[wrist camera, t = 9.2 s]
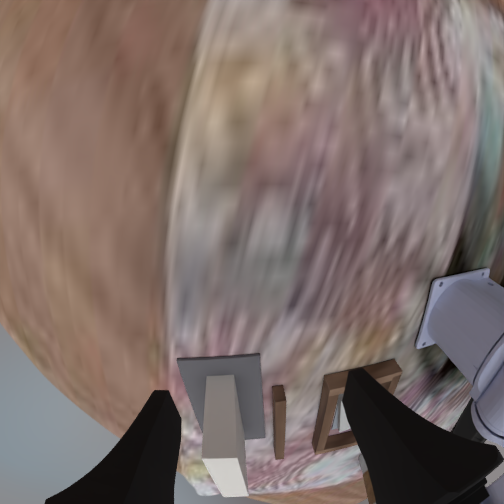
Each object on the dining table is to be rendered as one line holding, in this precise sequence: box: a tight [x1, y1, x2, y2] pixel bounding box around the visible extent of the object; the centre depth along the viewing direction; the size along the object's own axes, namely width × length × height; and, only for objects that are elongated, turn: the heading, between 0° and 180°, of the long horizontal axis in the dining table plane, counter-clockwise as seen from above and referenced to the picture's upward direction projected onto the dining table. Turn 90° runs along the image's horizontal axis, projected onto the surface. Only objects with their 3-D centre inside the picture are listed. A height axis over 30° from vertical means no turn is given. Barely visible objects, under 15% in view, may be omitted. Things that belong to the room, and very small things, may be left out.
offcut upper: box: [337, 393, 351, 432], centre depth 25 cm, size 3×7×1 cm, turn 12°
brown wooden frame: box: [272, 359, 402, 460], centre depth 25 cm, size 13×14×2 cm
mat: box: [177, 354, 265, 440], centre depth 24 cm, size 7×14×1 cm, turn 4°
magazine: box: [453, 398, 487, 443], centre depth 28 cm, size 17×3×30 cm
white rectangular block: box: [202, 375, 249, 497], centre depth 20 cm, size 2×10×8 cm, turn 4°
